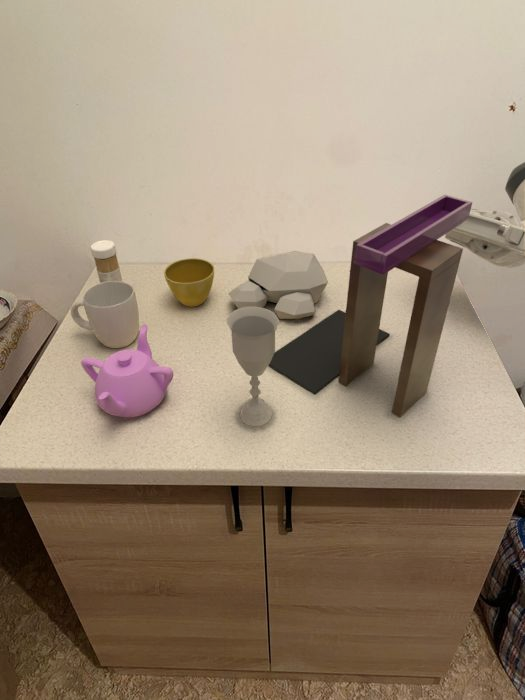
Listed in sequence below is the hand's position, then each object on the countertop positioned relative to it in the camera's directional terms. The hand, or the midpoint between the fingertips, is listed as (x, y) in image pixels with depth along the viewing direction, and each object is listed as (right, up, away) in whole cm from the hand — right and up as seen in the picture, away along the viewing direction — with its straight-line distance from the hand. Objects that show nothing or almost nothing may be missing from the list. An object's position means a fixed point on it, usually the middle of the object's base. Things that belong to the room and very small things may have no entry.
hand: (474, 221), depth 82 cm
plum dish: (-14, -6, -13) cm, 20 cm away
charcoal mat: (-23, -21, +10) cm, 32 cm away
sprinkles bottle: (-65, -11, +23) cm, 70 cm away
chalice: (-36, -31, -3) cm, 47 cm away
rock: (-31, -11, +23) cm, 40 cm away
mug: (-64, -19, +14) cm, 68 cm away
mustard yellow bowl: (-49, -11, +24) cm, 56 cm away
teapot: (-56, -29, +1) cm, 63 cm away
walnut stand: (-15, -27, +2) cm, 31 cm away
